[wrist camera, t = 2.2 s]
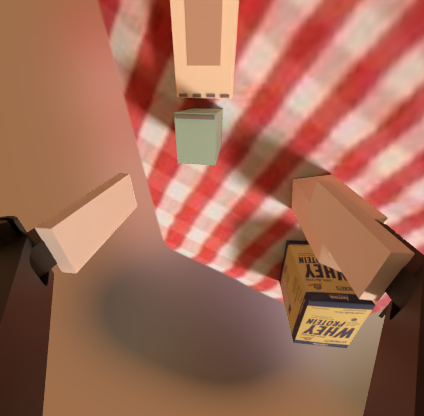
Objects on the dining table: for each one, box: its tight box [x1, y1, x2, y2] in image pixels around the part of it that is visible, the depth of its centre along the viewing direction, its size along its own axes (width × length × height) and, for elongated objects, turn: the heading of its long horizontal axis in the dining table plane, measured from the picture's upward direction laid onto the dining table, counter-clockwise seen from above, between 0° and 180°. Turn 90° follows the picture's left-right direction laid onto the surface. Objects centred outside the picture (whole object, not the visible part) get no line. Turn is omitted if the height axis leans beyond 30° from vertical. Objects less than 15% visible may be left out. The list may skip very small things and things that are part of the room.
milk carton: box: [292, 175, 388, 272], centre depth 29 cm, size 7×7×19 cm
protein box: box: [279, 241, 375, 348], centre depth 40 cm, size 10×16×16 cm
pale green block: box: [174, 108, 223, 165], centre depth 27 cm, size 6×5×12 cm
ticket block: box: [170, 0, 239, 99], centre depth 25 cm, size 12×8×5 cm, turn 179°
